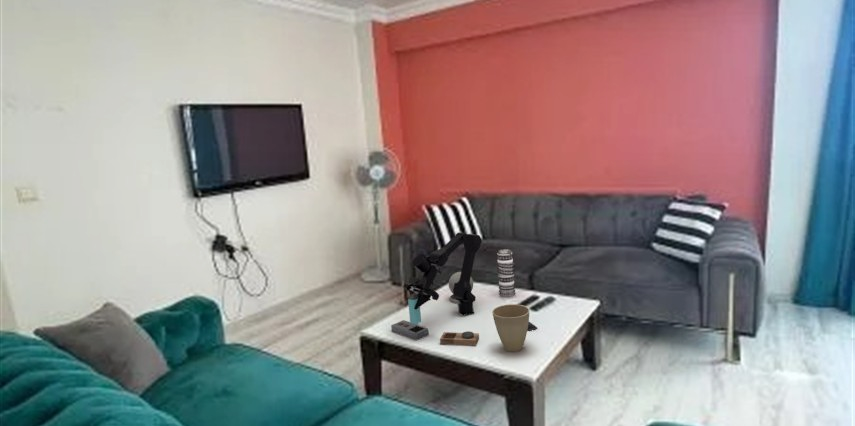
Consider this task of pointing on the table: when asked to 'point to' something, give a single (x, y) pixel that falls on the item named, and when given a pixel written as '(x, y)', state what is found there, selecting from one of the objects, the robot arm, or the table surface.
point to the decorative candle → (506, 274)
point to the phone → (531, 327)
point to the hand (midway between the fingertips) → (412, 308)
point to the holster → (460, 338)
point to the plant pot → (511, 325)
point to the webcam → (452, 281)
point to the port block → (410, 330)
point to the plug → (414, 314)
